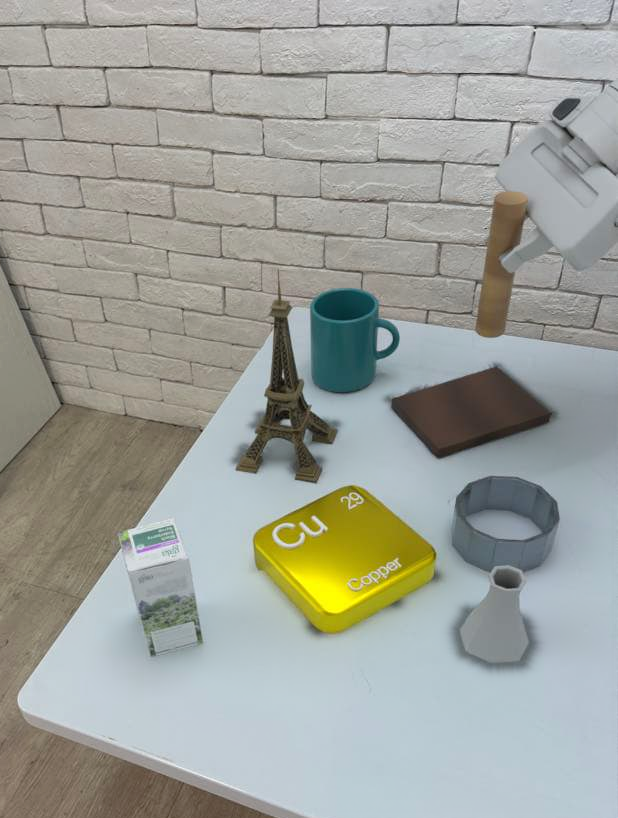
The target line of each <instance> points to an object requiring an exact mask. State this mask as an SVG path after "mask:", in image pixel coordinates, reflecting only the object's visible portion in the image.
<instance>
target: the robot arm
mask: <svg viewBox="0 0 618 818" xmlns="http://www.w3.org/2000/svg"><path fill="white" fill-rule="evenodd" d="M547 114H548V116H549V118H550V119H547V120H544V121H541V122H539V123H538V124H537V125H536V126H535V127H534V128H532V129H531V130H530V131H529V132H528V133H527V134H526V135H525V136H524V137H523V138H522V139H521V141H519V143H517V145H516V146H515V147H513V149H512V150H511V151H510V152H509V153H508V154H507V156H506V157H504V159H503V160H502V161H501V163H499V166H498V168H497V169H496V172H495V175H494V179H495V180H496V181H497V183H498V184H499V185H500V187H502V188H503V189H504V192H507V191H516V192H521V193H524V194H526V195H527V196H528V202H527V208H526V213H525V219H524V222H525V221H527V220H528V219H529V220H530V221H531V222H532V223H533V224H534V225H535V228H534V229H533V230H532V231H531V232H530V233H529V234H528V236H527V238H528V239H527V240H525V241H523V242H522V243H520V245H518V246H516V247H515V248H512V247H511V246H509V247H508V248H507V249H506V250H505V251H504V253H502V254H501V255H500V256H499V257H498V260H499V262H500V263H501V265H502V266H503V267H504V268H505V269H506V270H507V271H508V272H509V273H513V272H515V273H516V271H517V270H518V269H519V268H520V267H521V266H522V265H523V264H525V263H527V262H529V261H532V260H534V259H537V258H540V257H541V256H543V255H546V254H547V253H548V252H549V251H550V250H551V249H552V248H553V247H554V248H555V250H556V251H557V253H559V254H560V256H562V258H563V259H564V260H565V261H566V262H567V263H568V264H569V265H570V266H571V267H572V268H573V269H574V270H575V271H576V272H581V271H585V270H588V269H590V268H592V267H593V266H595V265H596V264H598V263H599V261H601V259H602V258H603V257H605V256H606V255H607V254H608V252H610V251H611V250H612V249H613V248H614V246H616V244H617V243H618V78H616V79H615V80H613V81H612V82H610V83H609V84H608V85H607V86H606V87H605V88H604V89H603V90H602V91H601V92H600V93H599V94H598V95H594V94H591V95H586V96H569V95H568V96H561V97H560V98H559V99H558V100H556V101H555V103H554V104H552V105H551V107H550V108H549V109H548V112H547ZM488 238H489V232H488V233H487V234H486V235H484V238H483V242H484V243H485V244H486V246H487V245H488Z"/></svg>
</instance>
